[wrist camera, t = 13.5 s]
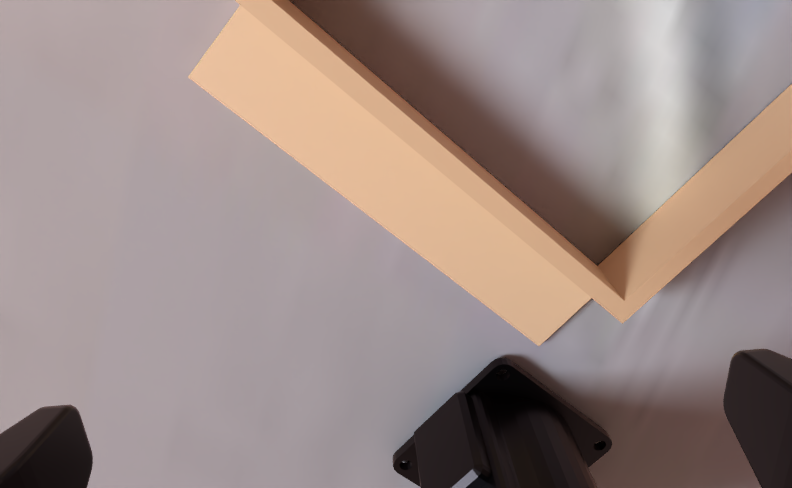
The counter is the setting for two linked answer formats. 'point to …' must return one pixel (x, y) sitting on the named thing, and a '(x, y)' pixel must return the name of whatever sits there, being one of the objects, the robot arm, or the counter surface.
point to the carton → (467, 176)
